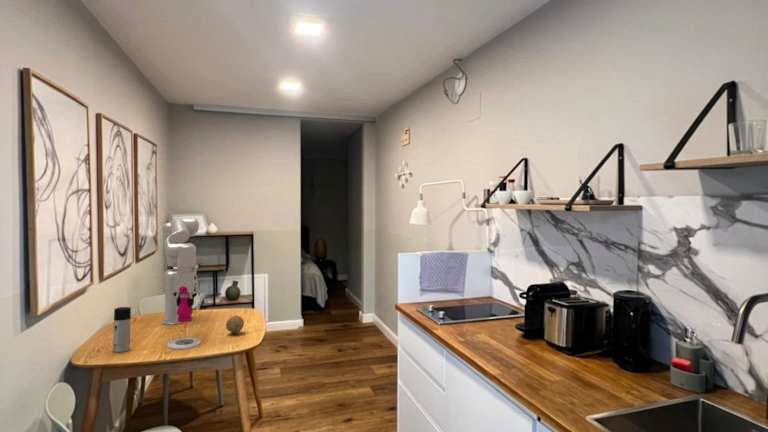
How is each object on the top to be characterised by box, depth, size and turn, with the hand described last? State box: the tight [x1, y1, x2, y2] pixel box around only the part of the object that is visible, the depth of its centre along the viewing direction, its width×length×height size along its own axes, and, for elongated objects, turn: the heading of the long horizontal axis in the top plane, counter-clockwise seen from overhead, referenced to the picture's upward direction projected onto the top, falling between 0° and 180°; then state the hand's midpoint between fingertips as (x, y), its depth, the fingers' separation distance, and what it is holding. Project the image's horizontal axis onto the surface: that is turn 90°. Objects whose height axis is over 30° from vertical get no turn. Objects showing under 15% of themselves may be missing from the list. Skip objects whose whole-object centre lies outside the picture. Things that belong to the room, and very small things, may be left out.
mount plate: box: [167, 337, 202, 351], centre depth 202 cm, size 15×15×1 cm
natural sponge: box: [225, 315, 245, 334], centre depth 221 cm, size 9×9×10 cm
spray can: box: [112, 306, 132, 353], centre depth 192 cm, size 7×7×20 cm
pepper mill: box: [177, 286, 194, 323], centre depth 202 cm, size 7×7×20 cm
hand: (185, 305), depth 202 cm, fingers closed on pepper mill, 5 cm apart
